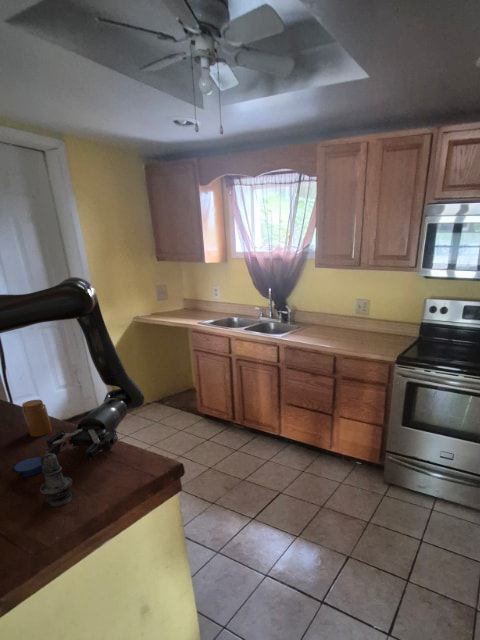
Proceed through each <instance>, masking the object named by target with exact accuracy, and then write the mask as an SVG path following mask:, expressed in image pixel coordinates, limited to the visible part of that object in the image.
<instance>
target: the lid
mask: <svg viewBox="0 0 480 640" xmlns="http://www.w3.org/2000/svg"><path fill="white" fill-rule="evenodd" d="M40 458H41V457H39V456H38V457H30V458H26V459H23V460H21V461H19V462H18V463H16V464H15V466H14V467H13V469H14V471H16V472H18V473H20V474H18V475H17V477H18V478H19V477H21V478H28V477H32V476H36V475H38V474H39V473H41V472H42V471H43V469H42V465H41V462H40Z"/></svg>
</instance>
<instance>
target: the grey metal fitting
mask: <svg viewBox="0 0 480 640" xmlns="http://www.w3.org/2000/svg"><path fill="white" fill-rule="evenodd" d="M39 458H40V462H41V465H42V469H43V471H41V472H40V473H41V475H43V477H44V479H45V482H44V483H43V484H42V485H41V486H40V488H39V492H40V493H41V494H42V495H43V496H45V498H47V499H46V501H45V504H46V506H48V507H51V508H55V507H56V508H57V507H61V506H64V505H66V504H68V503H70V502H71V501H72V500H73V499H74V498H75V492H74V491H72V485H73V479H72V478H71V477H68V476H64V475H63V472H62V469H63V467H62V465H60V463H59V461H58V457H57V456H56V455H55V454H53V453H48V451H47V450H45V451H44V454H43V455H42V456H41V457H39Z"/></svg>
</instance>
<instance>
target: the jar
mask: <svg viewBox="0 0 480 640" xmlns="http://www.w3.org/2000/svg"><path fill="white" fill-rule="evenodd" d="M21 408H22V409H21V412H22V415H23V418H24V422H25V425H26V427H27V431H28V435H29V436H30V437H34V438H35V437H43V436H45V435H48V434H50V433H52V431H53V427H52V424H51V423H52V422H51V420H50V416H49V412H48V409H47V406H46V404H44V402H43V400H42V399H31V400H28V401H24V402H23V403H22V404H21Z"/></svg>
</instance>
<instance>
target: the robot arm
mask: <svg viewBox="0 0 480 640" xmlns="http://www.w3.org/2000/svg"><path fill="white" fill-rule="evenodd" d="M67 320H69V321H70V320H76V321H77V323H78V325H79V327H80V329H81V331H82V334H83V336H84V339H85V343H86V346H87V349H88V353H89V355H90V358H91V361H92V363H93V366H94V368H95V370H96V372H97V374H98V376H99V378H100V380H101V382H102V383H103V384H104V385H105V386H109V387H117V388H114V389H112V390H109V391H108V392H106V393H105V396H104V399H103V402H102V403H101V404H100V405H98V407H96V408H94V409H93V410H92V411H90V412H89V413H88V414H87V415H85V416H84V418H82V419H81V420H80V421H79V423H78V424H77V427H76V429H75V430H73V431H71V432H66V430H64V429H63V430H59V431H58V432H57V433H55V434H54V435H53V436H51V437H50V438H49V439H47V440H46V445H47V449H46V451H48V453H53V454H55V455H56V457H57V456H58V455H59V454H60V453H61V452H64V451H66V450H68V451H71V450H73V449H76V448H78V447H85V448H86V447H87V448H86V450H85V451H84V456H85V459H86V460H87V461H90V460H92V459H94V457H96V456H97V455H98V453H100V452H102V451H103V450H105V451H111V450H112V448H113V447H114V446H115V445H116V443H117V441H118V440H119V437H118V431H117V429H118V427H119V426H120V424H121V423H122V422H123V420H125V418H126V417H127V415H128V411H132V410H139V409H140V408H142V407H143V406H144V404H145V394H144V391H143V390H142V388H141V387H140V386H139V385H138V383H137V382H136V381H135V380H134V378H132V376H131V375H130V374H129V373H128V371H127V370H126V368H125V365H124V363H123V361H122V359H121V357H120V355H119V353H118V351H117V348H116V346H115V344H114V342H113V339H112V338H111V335H110V333H109V331H108V328H107V325H106V322H105V319H104V316H103V314H102V311H101V307H100V303H99V299H98V294H97V291H96V289H95V287H94V286H93V285H92V284H91V283H90V282H89V281H88V280H86V279H84V278H81V277H77V276H71V277H68V278H65V279H64V280H63V281H61V282H60V283H58V284H57V285H54V286H51V287H48V288H44V289H41V290H37V291H34V292H29V293H22V294H4V293H3V294H0V334H4V333H7V332H11V331H15V330H20V329H24V328H27V327H30V326H33V325H38V324H43V323H49V322H59V321H67ZM70 441H71V443H72V444H71V443H70ZM61 445H63V446H61Z"/></svg>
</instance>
